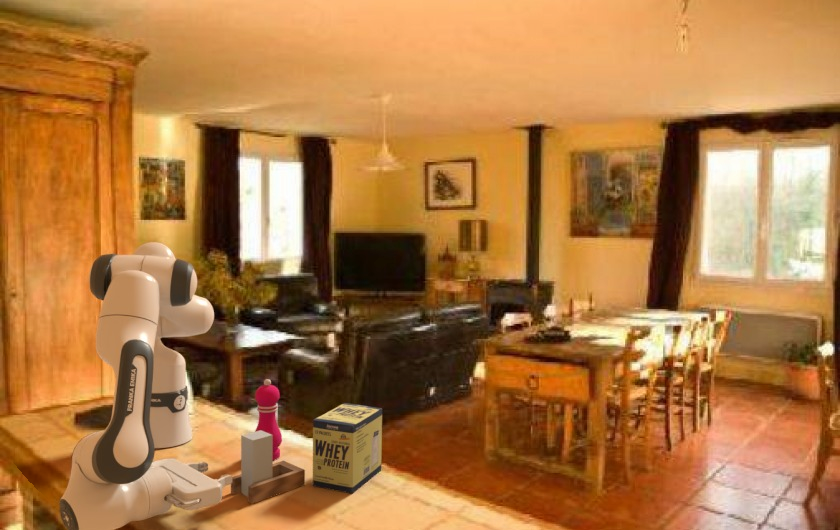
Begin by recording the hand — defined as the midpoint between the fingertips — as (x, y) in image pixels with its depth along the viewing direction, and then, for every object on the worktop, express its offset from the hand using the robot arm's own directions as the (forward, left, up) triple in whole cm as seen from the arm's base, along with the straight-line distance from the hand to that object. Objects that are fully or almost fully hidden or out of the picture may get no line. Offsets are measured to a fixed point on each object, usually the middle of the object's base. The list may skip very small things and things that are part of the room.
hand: (218, 471), depth 138 cm
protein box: (+15, +26, -8) cm, 31 cm away
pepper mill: (-10, +27, -8) cm, 30 cm away
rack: (+3, +12, -7) cm, 14 cm away
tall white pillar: (+3, +9, -7) cm, 12 cm away
